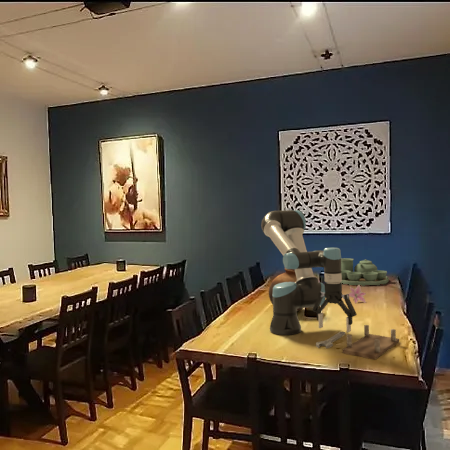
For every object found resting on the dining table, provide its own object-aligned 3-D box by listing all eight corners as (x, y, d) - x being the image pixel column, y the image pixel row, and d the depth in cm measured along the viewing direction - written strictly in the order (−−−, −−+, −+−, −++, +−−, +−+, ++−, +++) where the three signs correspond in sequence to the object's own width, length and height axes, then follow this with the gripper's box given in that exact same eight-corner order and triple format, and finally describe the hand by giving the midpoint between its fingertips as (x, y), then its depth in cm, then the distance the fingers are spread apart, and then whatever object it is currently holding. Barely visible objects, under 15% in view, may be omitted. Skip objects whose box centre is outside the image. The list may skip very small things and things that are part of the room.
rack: (342, 352, 191) (342, 337, 191) (368, 337, 212) (368, 323, 212) (375, 359, 182) (375, 343, 182) (399, 342, 203) (399, 327, 203)
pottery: (262, 310, 270) (261, 267, 269) (294, 305, 281) (293, 264, 279) (284, 318, 250) (283, 272, 248) (318, 312, 260) (317, 268, 259)
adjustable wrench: (340, 334, 220) (340, 330, 219) (353, 336, 215) (353, 332, 215) (313, 347, 201) (313, 343, 201) (326, 350, 197) (326, 346, 196)
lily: (344, 304, 283) (348, 292, 278) (344, 293, 293) (349, 281, 288) (363, 310, 281) (368, 298, 277) (363, 299, 291) (368, 287, 287)
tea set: (332, 285, 340) (332, 263, 339) (337, 277, 378) (336, 257, 377) (389, 287, 328) (389, 264, 327) (388, 278, 366) (388, 257, 365)
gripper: (304, 281, 211) (305, 327, 212) (356, 285, 195) (357, 335, 196) (312, 279, 217) (313, 324, 217) (363, 283, 201) (364, 331, 201)
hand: (334, 329), depth 207 cm, fingers open, 13 cm apart
